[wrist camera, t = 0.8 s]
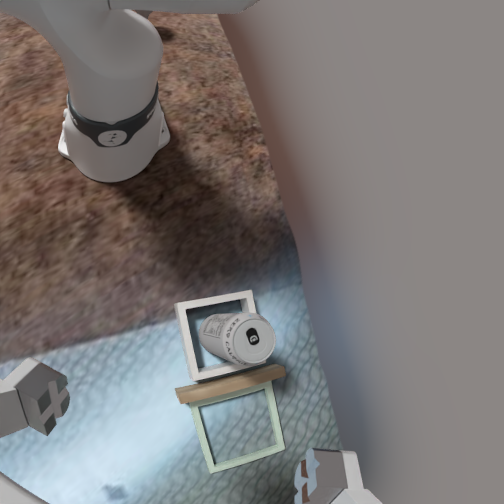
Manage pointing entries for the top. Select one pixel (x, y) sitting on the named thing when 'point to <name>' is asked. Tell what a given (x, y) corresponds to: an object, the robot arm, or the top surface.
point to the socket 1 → (193, 371)
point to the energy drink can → (238, 337)
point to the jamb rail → (229, 383)
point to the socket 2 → (249, 457)
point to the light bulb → (143, 13)
